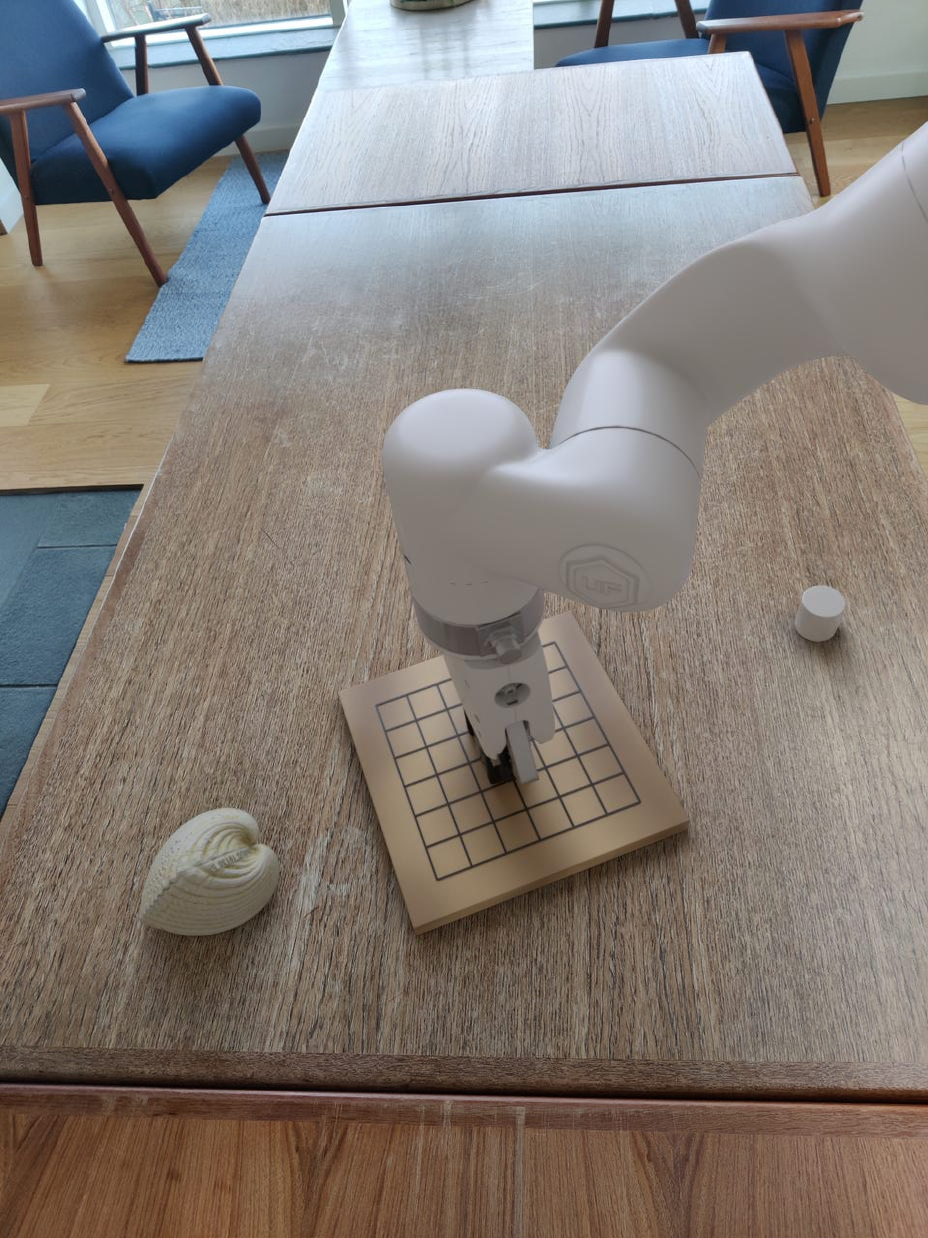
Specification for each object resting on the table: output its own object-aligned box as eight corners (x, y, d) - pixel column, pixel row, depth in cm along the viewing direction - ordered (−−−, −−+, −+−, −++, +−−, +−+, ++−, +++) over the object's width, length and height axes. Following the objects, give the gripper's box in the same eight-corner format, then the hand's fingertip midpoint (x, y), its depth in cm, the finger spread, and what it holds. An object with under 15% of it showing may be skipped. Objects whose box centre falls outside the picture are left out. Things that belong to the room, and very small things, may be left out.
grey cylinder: (821, 605, 72) (830, 579, 69) (844, 634, 70) (854, 609, 67) (786, 618, 72) (794, 592, 69) (808, 647, 70) (817, 622, 67)
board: (570, 620, 74) (570, 608, 72) (688, 829, 61) (690, 819, 60) (341, 701, 71) (337, 690, 70) (416, 936, 59) (413, 928, 58)
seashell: (309, 881, 60) (205, 937, 54) (260, 918, 65) (162, 973, 59) (253, 776, 61) (147, 821, 56) (210, 821, 67) (110, 866, 61)
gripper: (600, 683, 46) (593, 830, 61) (488, 481, 56) (505, 649, 70) (465, 732, 45) (491, 870, 60) (375, 517, 55) (416, 680, 69)
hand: (498, 749), depth 65 cm, fingers open, 3 cm apart
